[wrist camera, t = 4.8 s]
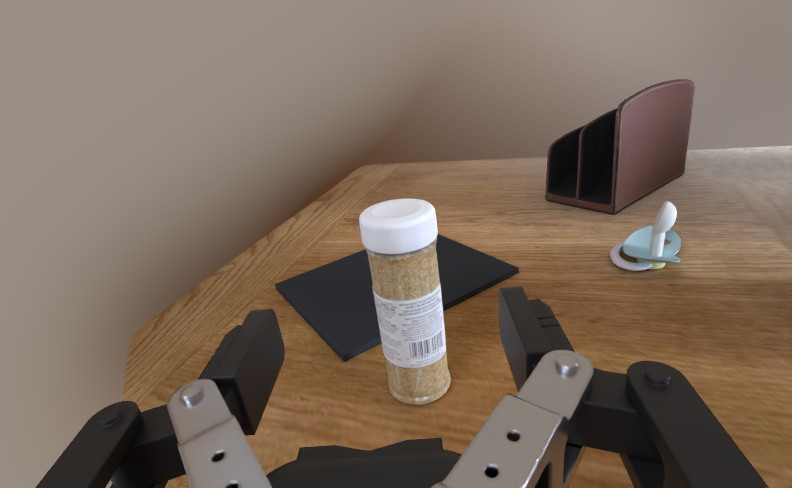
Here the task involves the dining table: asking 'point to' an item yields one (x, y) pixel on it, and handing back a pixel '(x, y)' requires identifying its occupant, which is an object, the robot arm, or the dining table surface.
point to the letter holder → (623, 150)
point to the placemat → (354, 300)
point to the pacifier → (651, 243)
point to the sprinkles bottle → (408, 297)
